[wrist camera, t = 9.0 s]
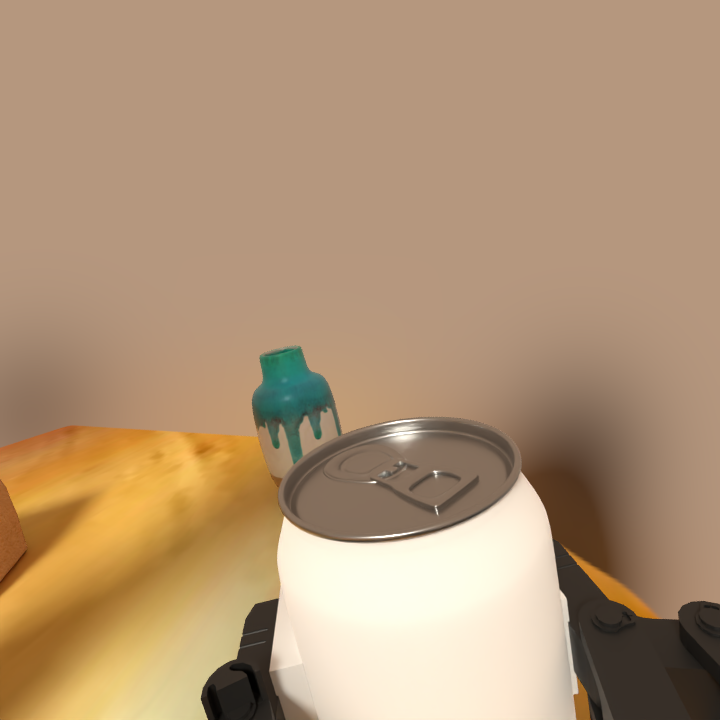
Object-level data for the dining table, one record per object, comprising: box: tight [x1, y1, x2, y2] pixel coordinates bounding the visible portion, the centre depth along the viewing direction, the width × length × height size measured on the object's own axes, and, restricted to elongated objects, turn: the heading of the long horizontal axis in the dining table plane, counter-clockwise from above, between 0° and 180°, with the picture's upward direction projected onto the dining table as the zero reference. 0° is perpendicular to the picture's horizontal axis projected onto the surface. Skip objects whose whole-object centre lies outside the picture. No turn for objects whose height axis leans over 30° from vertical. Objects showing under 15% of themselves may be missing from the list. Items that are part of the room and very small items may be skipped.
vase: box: [252, 346, 342, 487], centre depth 57 cm, size 11×11×19 cm
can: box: [277, 417, 576, 720], centre depth 12 cm, size 6×6×12 cm
